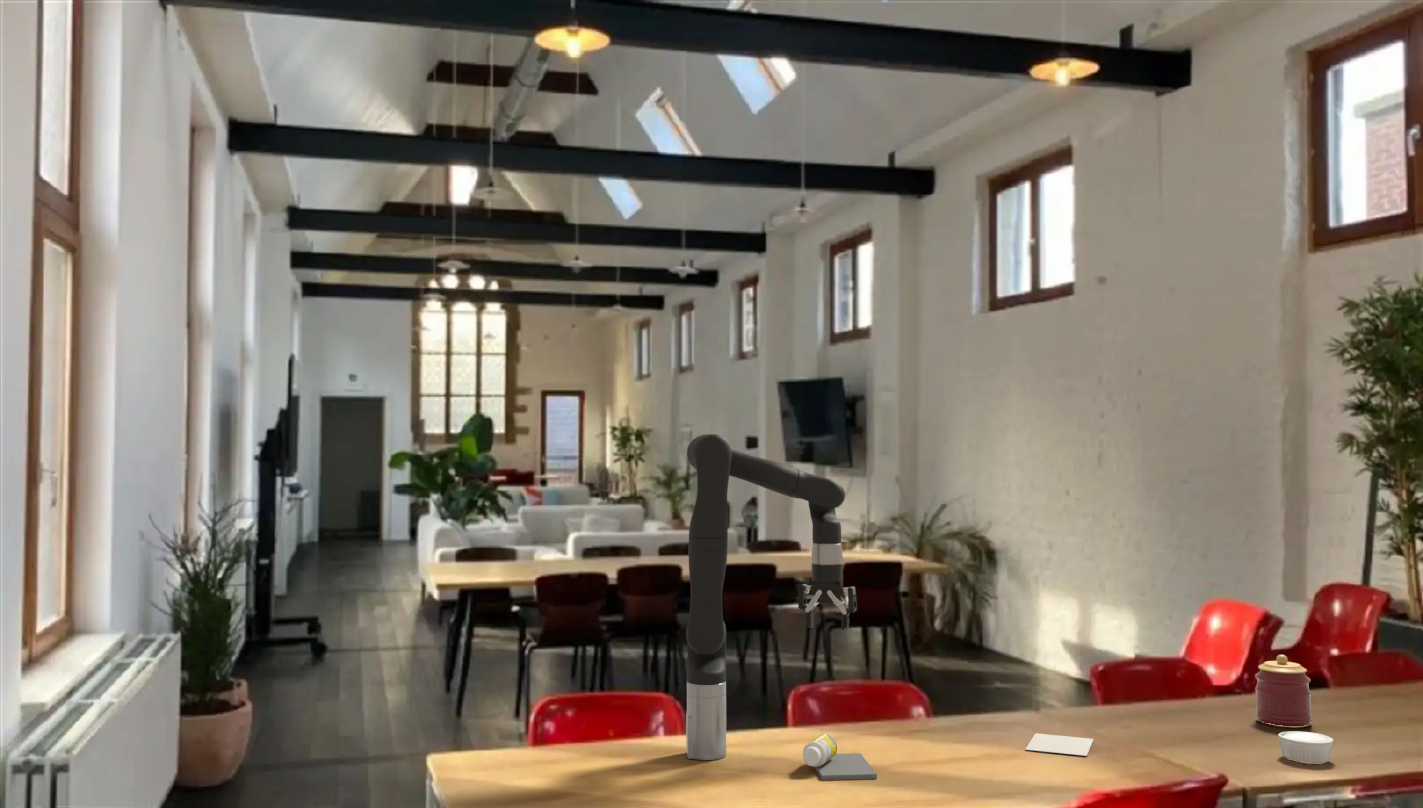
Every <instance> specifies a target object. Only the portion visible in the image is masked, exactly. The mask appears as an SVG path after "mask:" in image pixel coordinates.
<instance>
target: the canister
mask: <svg viewBox="0 0 1423 808" xmlns="http://www.w3.org/2000/svg"><path fill="white" fill-rule="evenodd" d="M1257 668H1258V669H1259V672H1257V673H1255V674H1254V677H1255V679H1256V680H1257V681H1256V683H1257V684H1256V686H1255V698H1256V700H1255V702H1256V703H1255V706H1256V707H1255V708H1256V710H1255V717H1256V720H1257V719H1258V720H1259V721H1261V722H1264V723H1271V724H1275V725H1283V726H1304V725H1308V724H1310V723H1312V721H1313V720H1312V713H1311V712H1312V710H1311V709H1312V708H1311V707H1312V706H1311V694H1312V691H1310V687H1309V683H1310V682H1311V678H1310V677H1308V676H1307V674H1306V673H1307V672H1308V670H1307V668H1305V667H1303V666H1302V664H1300V663H1297V662H1292V661H1289V659H1288V656H1286V655H1285V654H1278V655H1277V656H1276V659H1275V660H1267V661H1264V662H1263V663H1262V664H1259V665H1258V667H1257ZM1259 721H1258V722H1259Z"/></svg>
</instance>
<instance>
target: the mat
mask: <svg viewBox="0 0 1423 808" xmlns="http://www.w3.org/2000/svg"><path fill="white" fill-rule="evenodd" d="M814 769H815V770H817V771H816V772H817V774H818V776H819V777H820V779H821V780H822V781H839V780H840V781H843V780H846V781H847V780H872V779H873V780H875V779H878V773H877V772H876V771H875V770H874V769H873V767H872V766H871V765H870V764H869V762H868V761H867V760H866V758H865V757H864V756H863V754H862V753H860V752H857V753H856V752H852V753H851V752H849V753H843V752H842V753H836V754H835V755H834V756H833V757H832V758H831V759H829V760H828V761H827V762H826V763H824V764H823V765H821V766H819V767H814Z"/></svg>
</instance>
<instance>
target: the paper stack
mask: <svg viewBox="0 0 1423 808" xmlns="http://www.w3.org/2000/svg"><path fill="white" fill-rule="evenodd" d="M1093 742H1094V738H1089V737H1079V736H1077V737H1076V736H1068V735H1067V736H1066V735H1059V734H1058V735H1057V734H1047V733H1037V732H1036V733H1035V734H1033V737H1032V738H1031V740H1030V741H1029V743H1028V745H1027V746H1026V747H1025V751H1035V752H1036V751H1037V752H1044V753H1057V754H1065V755H1075V756H1085V757H1086V756H1087V757H1088V754H1089V751H1090V749H1091V748H1092V747H1091V746H1092V744H1093Z"/></svg>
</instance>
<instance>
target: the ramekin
mask: <svg viewBox="0 0 1423 808" xmlns="http://www.w3.org/2000/svg"><path fill="white" fill-rule="evenodd" d="M1277 736H1278V737H1277V738H1278V740H1279V744H1280V749H1281V753H1282V756H1283V757H1284V758H1285V757H1286V758H1288V759H1292V760H1296V761H1301V762H1302V761H1303V762H1310V763H1311V762H1312V763H1322V762H1328V763H1329V762H1330V760H1331V757H1332V755H1331V754H1332V749H1333V745H1334V739H1333V738H1332V737H1331V736H1328V735H1325V734H1321V733H1316V732H1311V731H1309V732H1308V731H1299V730H1297V731H1295V730H1294V731H1293V730H1292V731H1282V732H1280V733H1278V735H1277ZM1286 758H1285V759H1286Z"/></svg>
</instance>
